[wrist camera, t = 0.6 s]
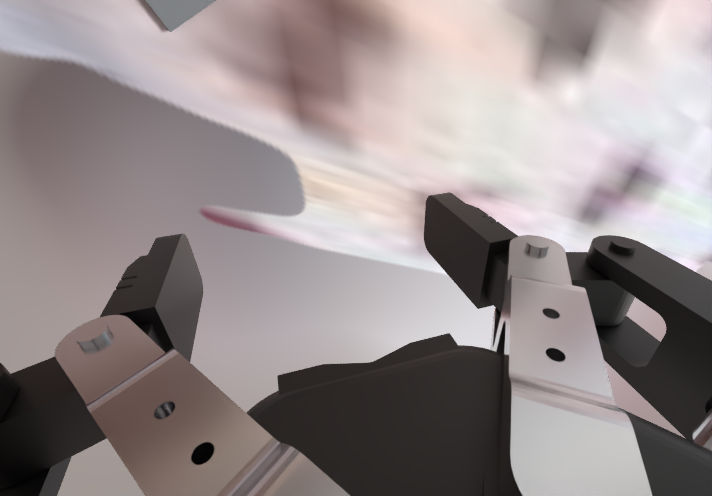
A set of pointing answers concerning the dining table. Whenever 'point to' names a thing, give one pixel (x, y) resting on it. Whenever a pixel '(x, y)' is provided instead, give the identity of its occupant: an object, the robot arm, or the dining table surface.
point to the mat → (177, 10)
